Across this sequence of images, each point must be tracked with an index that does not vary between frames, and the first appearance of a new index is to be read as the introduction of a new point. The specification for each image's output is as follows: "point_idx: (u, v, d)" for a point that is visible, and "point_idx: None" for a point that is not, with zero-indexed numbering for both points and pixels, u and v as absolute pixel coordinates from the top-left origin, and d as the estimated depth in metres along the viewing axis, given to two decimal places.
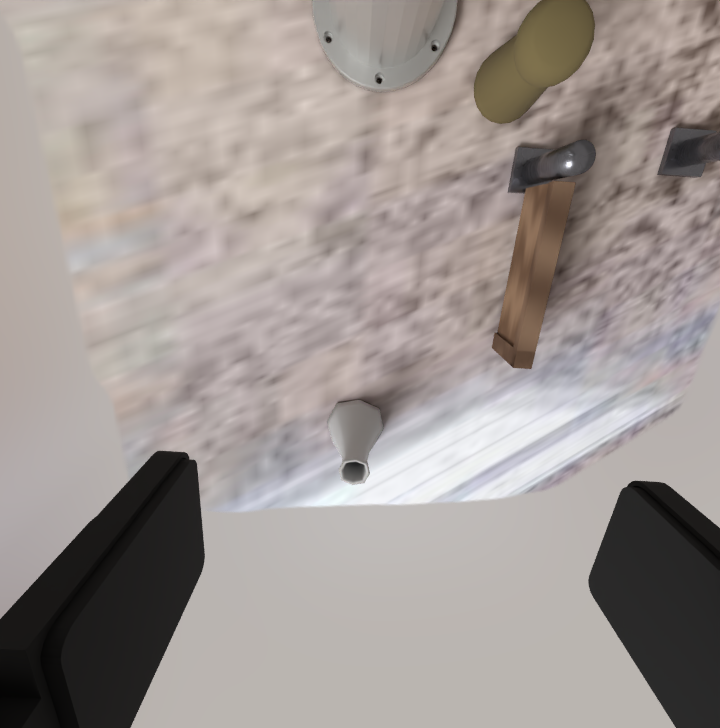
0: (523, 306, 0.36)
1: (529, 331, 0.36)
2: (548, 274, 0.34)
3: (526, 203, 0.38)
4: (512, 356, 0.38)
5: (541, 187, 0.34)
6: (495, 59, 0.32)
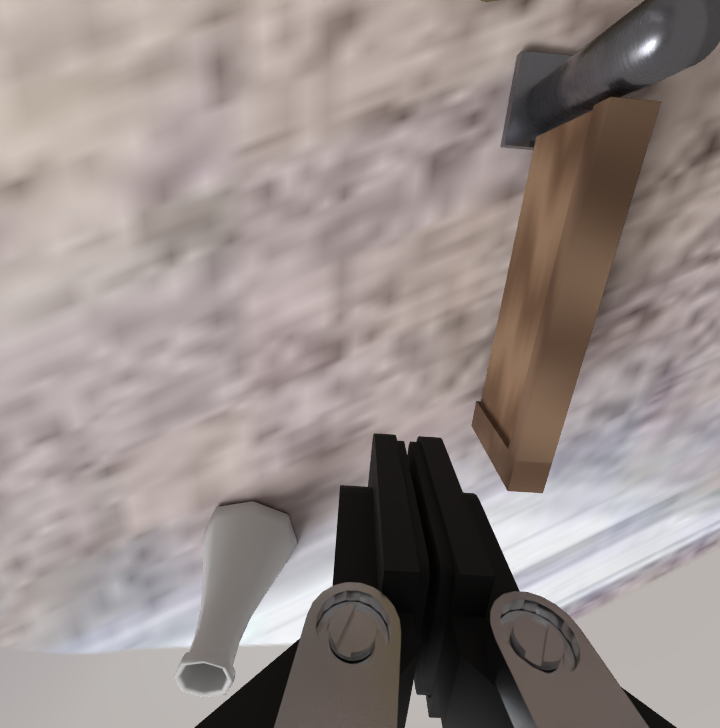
0: (529, 375, 0.18)
1: (541, 426, 0.18)
2: (585, 314, 0.16)
3: (536, 165, 0.19)
4: (505, 465, 0.19)
5: (571, 125, 0.16)
6: None
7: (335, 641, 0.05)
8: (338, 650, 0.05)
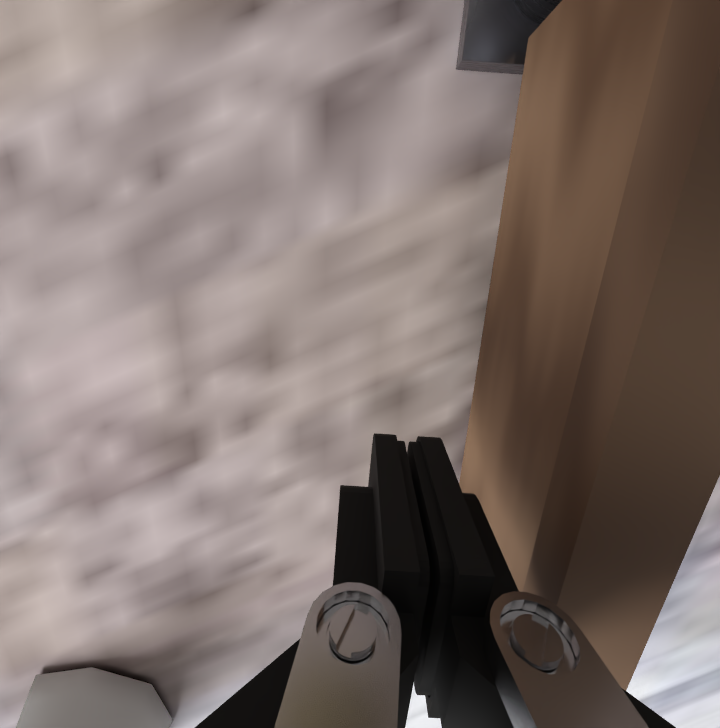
0: (532, 589, 0.07)
1: None
2: (686, 476, 0.05)
3: (529, 98, 0.09)
4: None
5: None
6: None
7: (336, 641, 0.05)
8: (339, 650, 0.05)
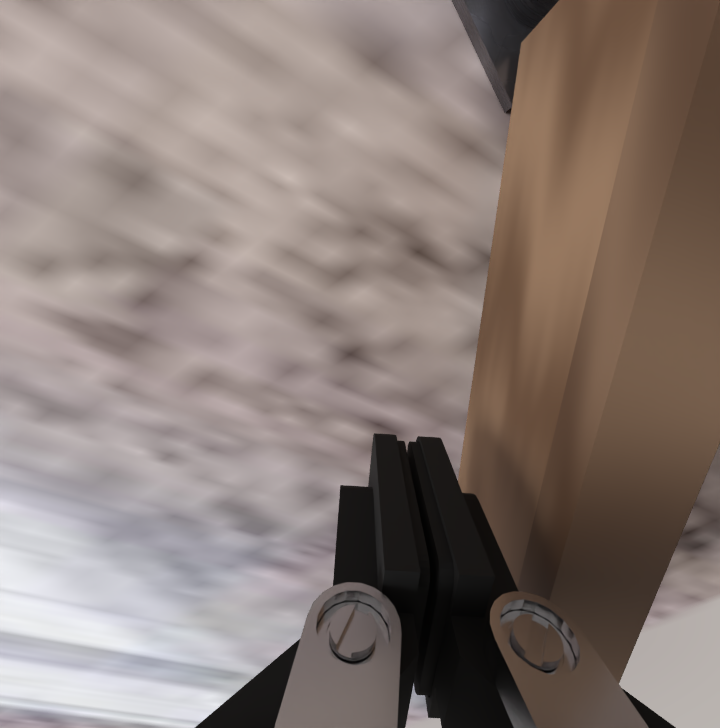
0: (526, 588, 0.07)
1: None
2: (672, 479, 0.06)
3: (522, 103, 0.09)
4: None
5: None
6: None
7: (336, 641, 0.05)
8: (339, 650, 0.05)
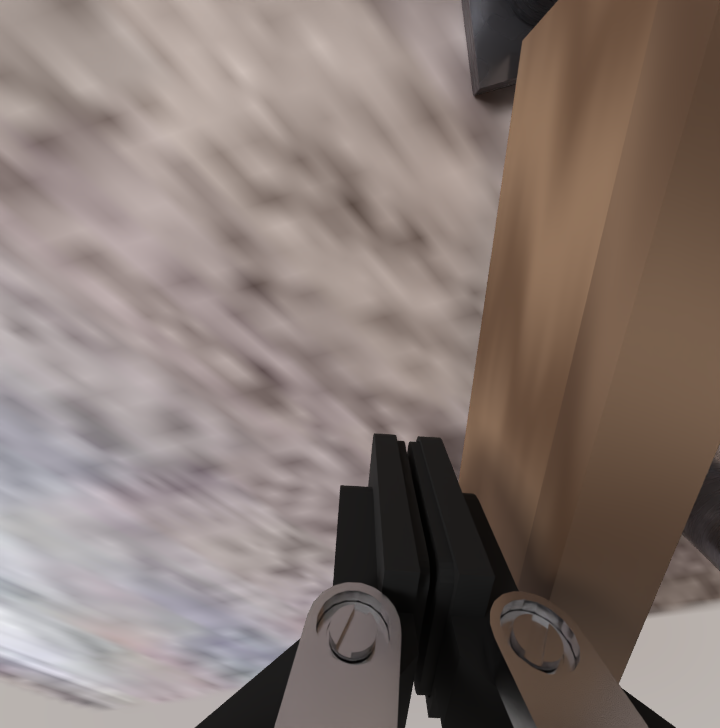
0: (526, 587, 0.07)
1: None
2: (672, 477, 0.06)
3: (523, 101, 0.09)
4: None
5: None
6: None
7: (336, 641, 0.05)
8: (339, 650, 0.05)
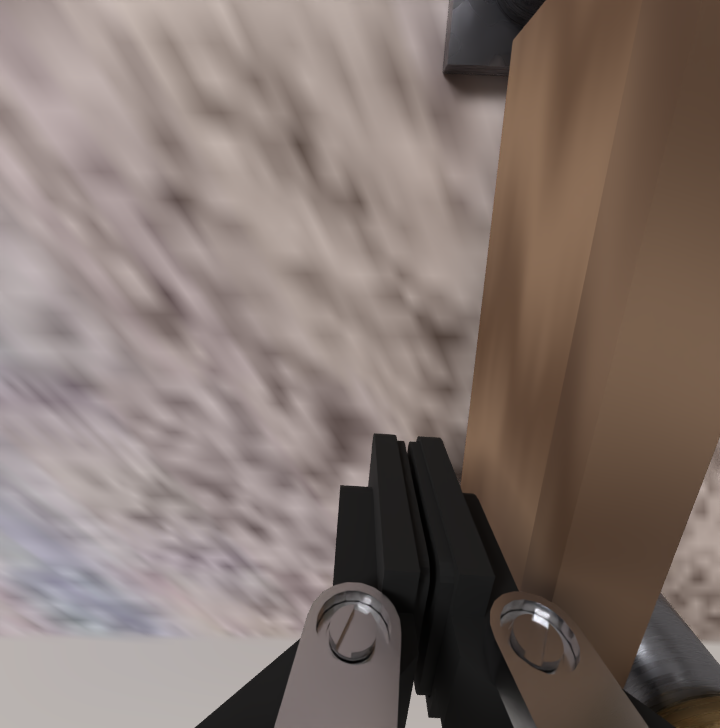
0: (529, 587, 0.07)
1: None
2: (673, 473, 0.06)
3: (515, 100, 0.09)
4: None
5: None
6: None
7: (336, 641, 0.05)
8: (339, 650, 0.05)
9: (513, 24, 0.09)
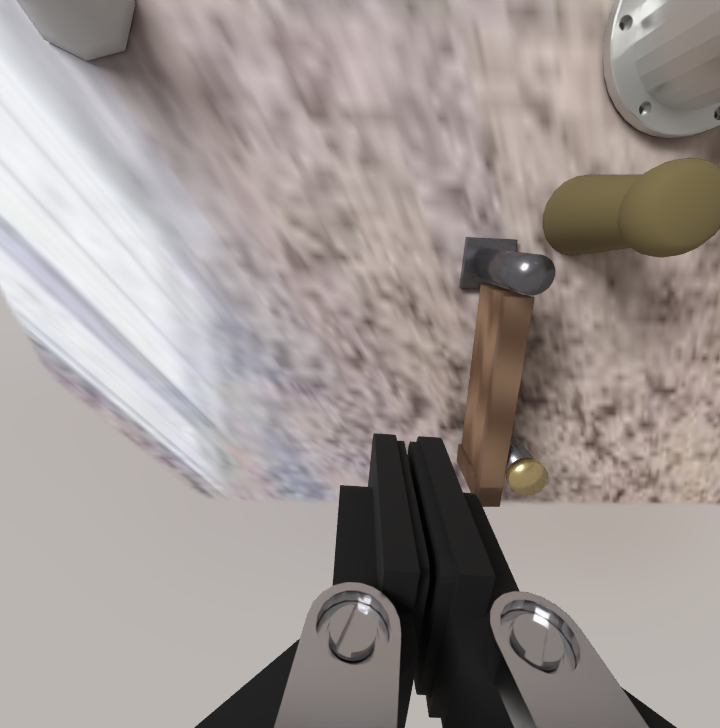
0: (483, 436, 0.29)
1: (493, 466, 0.29)
2: (510, 402, 0.27)
3: (481, 303, 0.31)
4: (475, 490, 0.31)
5: (495, 294, 0.28)
6: None
7: (335, 641, 0.05)
8: (339, 650, 0.05)
9: (481, 277, 0.31)
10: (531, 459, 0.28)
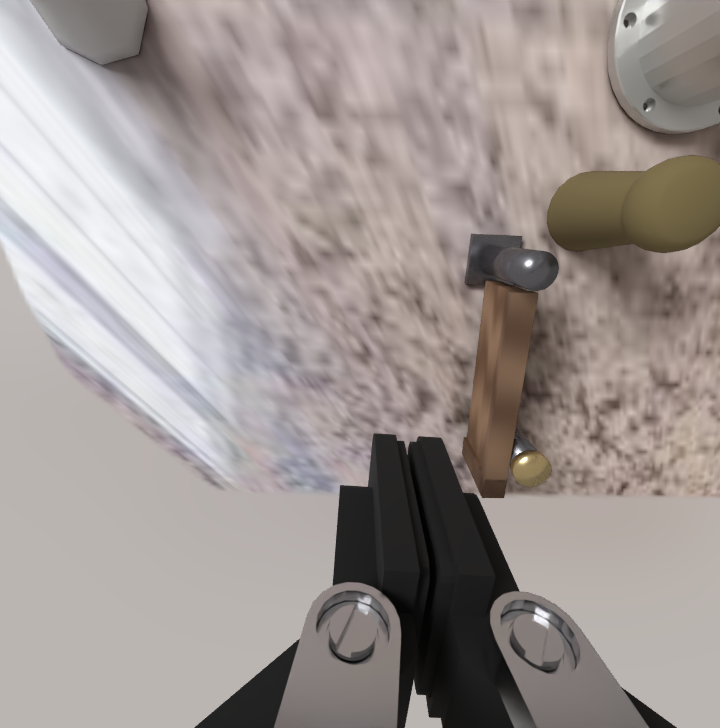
0: (488, 429, 0.30)
1: (497, 458, 0.30)
2: (514, 396, 0.28)
3: (486, 298, 0.31)
4: (480, 482, 0.32)
5: (500, 289, 0.28)
6: None
7: (335, 641, 0.05)
8: (338, 650, 0.05)
9: (486, 273, 0.32)
10: (535, 451, 0.29)
